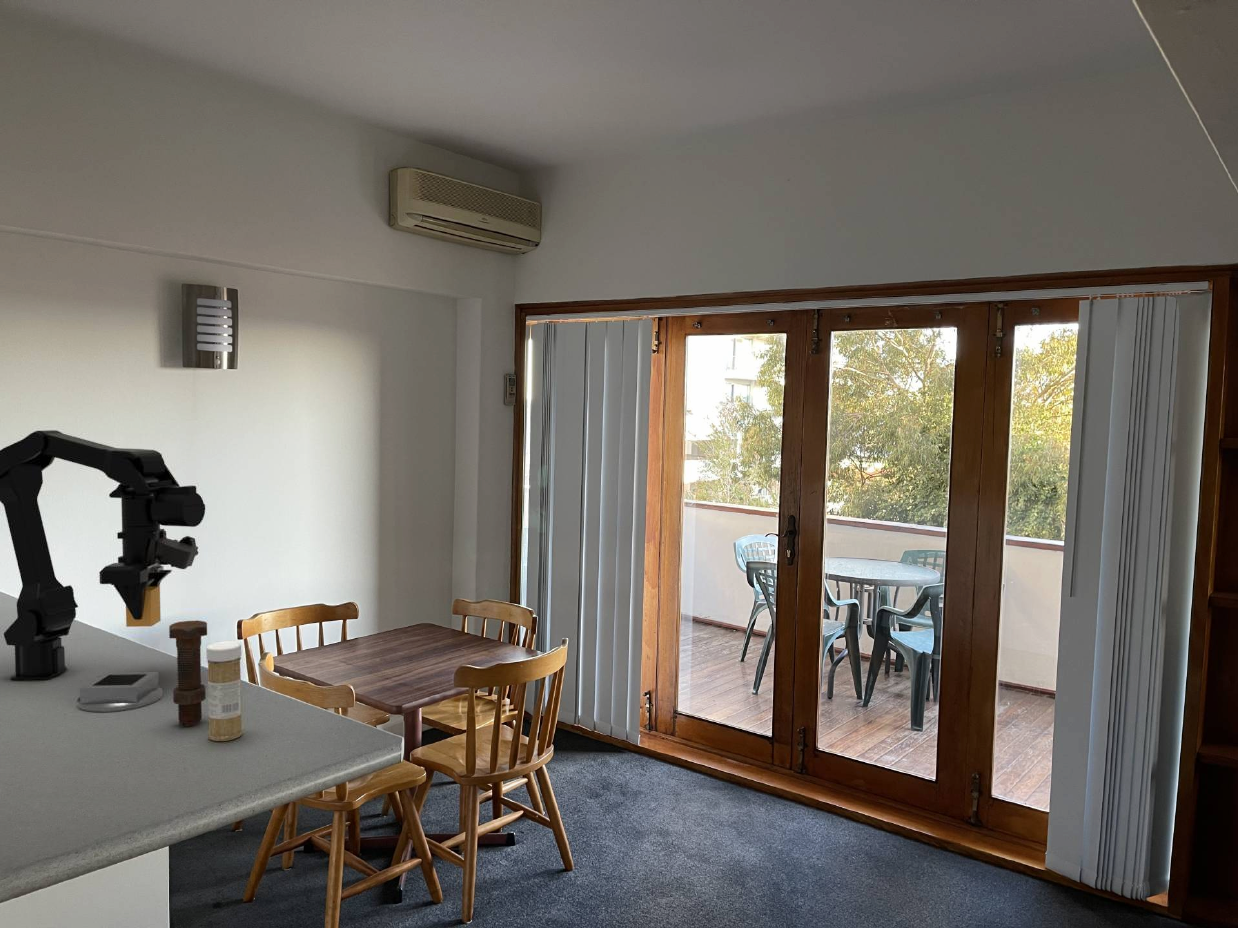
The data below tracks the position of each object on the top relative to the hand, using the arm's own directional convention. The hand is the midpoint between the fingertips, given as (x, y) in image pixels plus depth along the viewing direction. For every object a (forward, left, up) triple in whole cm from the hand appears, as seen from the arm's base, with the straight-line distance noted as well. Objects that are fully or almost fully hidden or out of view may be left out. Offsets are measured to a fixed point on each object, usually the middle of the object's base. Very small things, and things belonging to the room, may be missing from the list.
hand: (143, 616), depth 157 cm
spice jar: (+22, -27, -12) cm, 37 cm away
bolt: (+15, -21, -12) cm, 28 cm away
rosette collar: (0, -9, -12) cm, 15 cm away
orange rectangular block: (0, 0, -1) cm, 1 cm away
